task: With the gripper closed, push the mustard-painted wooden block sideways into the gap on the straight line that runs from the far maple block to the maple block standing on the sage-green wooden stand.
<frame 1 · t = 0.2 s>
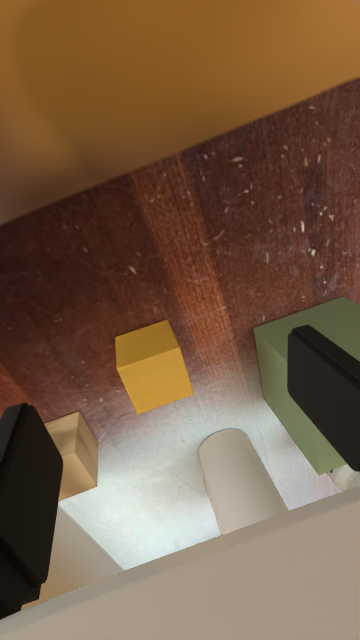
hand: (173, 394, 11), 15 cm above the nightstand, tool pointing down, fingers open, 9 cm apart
pill bottle: (314, 423, 38), on the nightstand
mustard block: (149, 349, 27), on the nightstand
vase: (227, 458, 37), on the nightstand
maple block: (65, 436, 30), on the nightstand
stand: (300, 350, 32), on the nightstand
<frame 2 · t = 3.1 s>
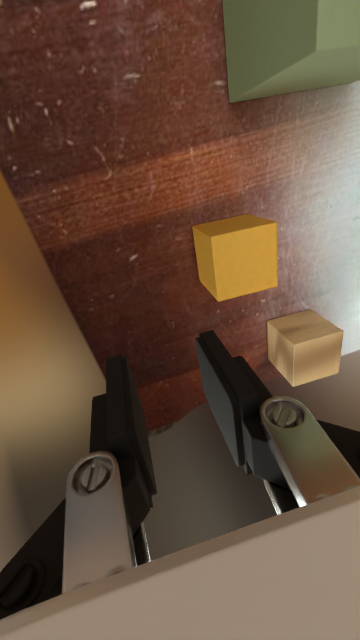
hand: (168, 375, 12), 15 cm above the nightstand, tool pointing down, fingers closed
mustard block: (222, 248, 26), on the nightstand
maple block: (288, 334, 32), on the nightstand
stand: (292, 0, 19), on the nightstand
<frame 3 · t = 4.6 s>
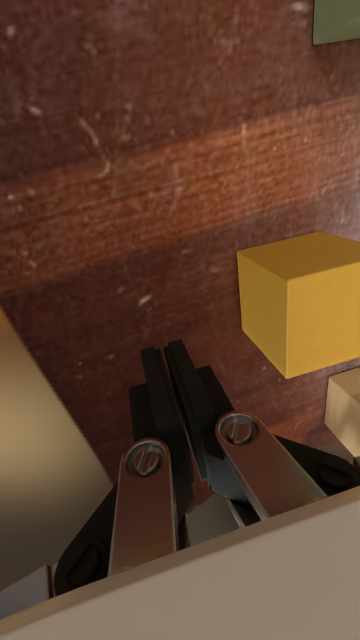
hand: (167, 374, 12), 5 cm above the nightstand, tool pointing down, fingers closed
mustard block: (278, 282, 17), on the nightstand
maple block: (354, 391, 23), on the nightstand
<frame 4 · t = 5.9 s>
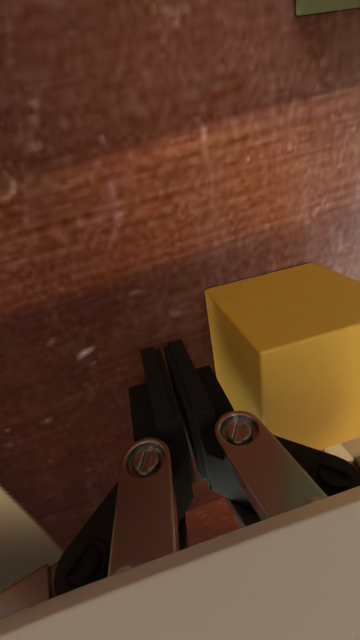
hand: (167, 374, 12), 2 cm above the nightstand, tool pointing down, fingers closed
mustard block: (261, 325, 14), on the nightstand, touching gripper
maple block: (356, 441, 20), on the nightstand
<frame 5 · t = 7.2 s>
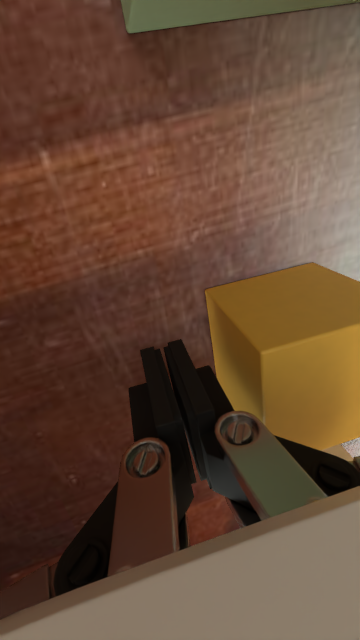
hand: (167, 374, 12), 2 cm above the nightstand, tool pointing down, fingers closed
mustard block: (261, 325, 14), on the nightstand, touching gripper
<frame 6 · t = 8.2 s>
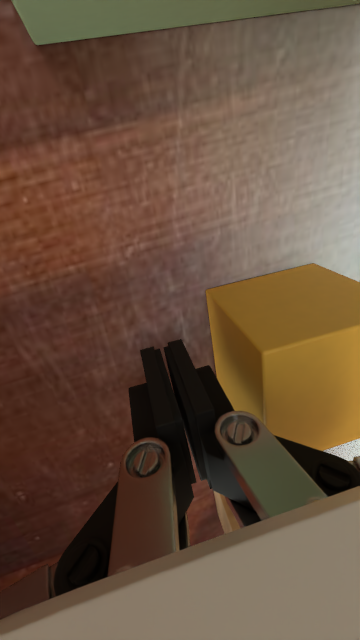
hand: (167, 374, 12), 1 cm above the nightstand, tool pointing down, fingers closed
mustard block: (262, 325, 14), on the nightstand, touching gripper
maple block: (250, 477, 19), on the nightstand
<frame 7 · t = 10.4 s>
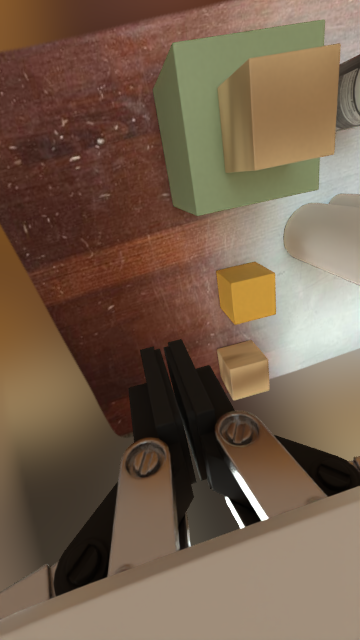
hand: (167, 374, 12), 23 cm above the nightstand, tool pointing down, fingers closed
pill bottle: (330, 102, 30), on the nightstand
mustard block: (237, 285, 36), on the nightstand
vase: (325, 227, 35), on the nightstand
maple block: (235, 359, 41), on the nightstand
stand: (212, 143, 29), on the nightstand
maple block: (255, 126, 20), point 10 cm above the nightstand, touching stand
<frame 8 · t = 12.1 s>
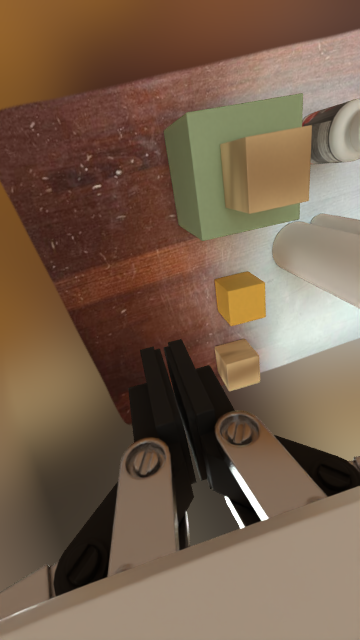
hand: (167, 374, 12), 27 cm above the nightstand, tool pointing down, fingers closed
pill bottle: (311, 139, 35), on the nightstand
mustard block: (232, 291, 42), on the nightstand
vase: (308, 241, 41), on the nightstand
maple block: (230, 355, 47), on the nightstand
stand: (212, 173, 34), on the nightstand
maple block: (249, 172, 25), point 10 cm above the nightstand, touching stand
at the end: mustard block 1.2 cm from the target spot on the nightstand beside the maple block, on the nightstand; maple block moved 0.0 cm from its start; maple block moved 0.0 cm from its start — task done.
